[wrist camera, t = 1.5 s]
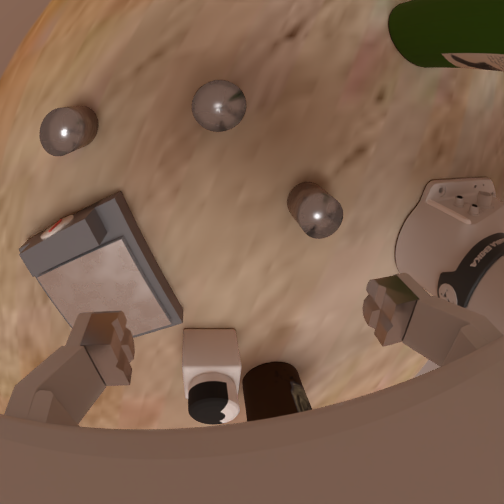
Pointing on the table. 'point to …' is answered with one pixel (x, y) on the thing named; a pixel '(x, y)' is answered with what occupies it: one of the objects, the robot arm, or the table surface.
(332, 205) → the cylinder
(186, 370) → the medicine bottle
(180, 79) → the table surface
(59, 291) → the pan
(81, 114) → the cylinder
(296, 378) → the olive oil
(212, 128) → the cylinder
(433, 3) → the wine bottle
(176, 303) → the scale
